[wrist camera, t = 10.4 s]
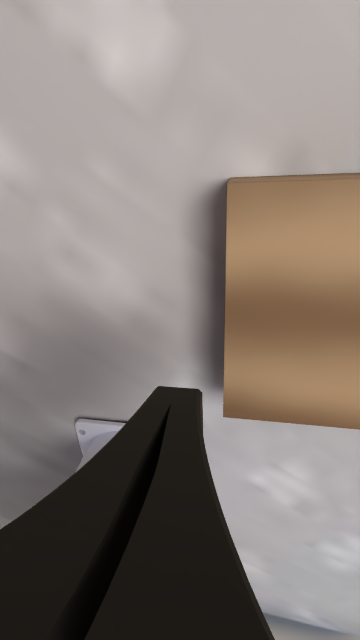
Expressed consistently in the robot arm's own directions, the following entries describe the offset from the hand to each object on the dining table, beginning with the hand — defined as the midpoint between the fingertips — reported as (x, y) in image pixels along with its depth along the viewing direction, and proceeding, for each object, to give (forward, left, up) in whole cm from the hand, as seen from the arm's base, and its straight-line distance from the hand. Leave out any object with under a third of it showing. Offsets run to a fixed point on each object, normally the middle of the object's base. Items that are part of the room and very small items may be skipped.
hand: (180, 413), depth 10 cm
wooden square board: (0, -7, -9) cm, 12 cm away
